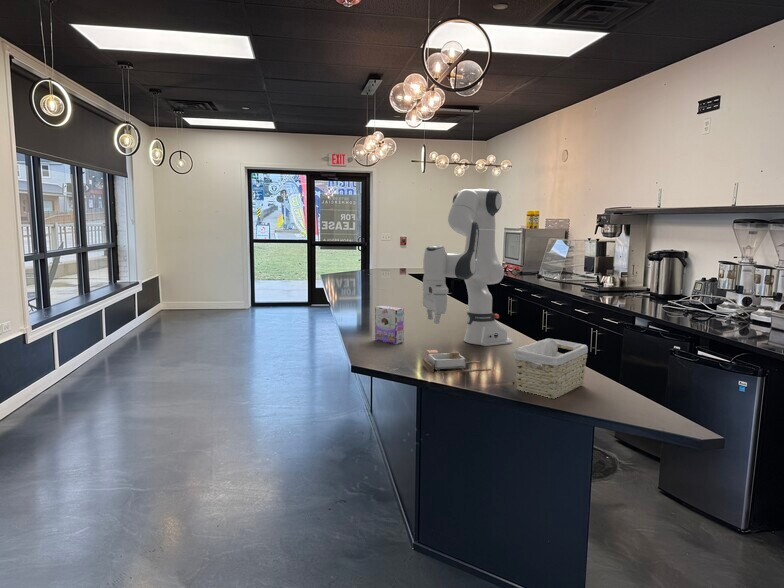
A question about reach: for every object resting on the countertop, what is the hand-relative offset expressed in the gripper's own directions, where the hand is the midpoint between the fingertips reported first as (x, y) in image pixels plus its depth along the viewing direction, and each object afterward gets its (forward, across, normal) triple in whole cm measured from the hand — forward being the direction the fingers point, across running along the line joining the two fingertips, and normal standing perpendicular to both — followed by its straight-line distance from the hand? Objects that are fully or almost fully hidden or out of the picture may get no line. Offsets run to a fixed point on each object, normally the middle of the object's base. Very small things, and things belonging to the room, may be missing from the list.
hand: (433, 321), depth 206 cm
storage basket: (+17, +38, +30) cm, 51 cm away
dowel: (+14, +12, +5) cm, 19 cm away
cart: (+16, +12, +2) cm, 20 cm away
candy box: (+17, -40, -9) cm, 45 cm away
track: (+17, +12, +6) cm, 22 cm away
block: (+17, 0, 0) cm, 17 cm away
